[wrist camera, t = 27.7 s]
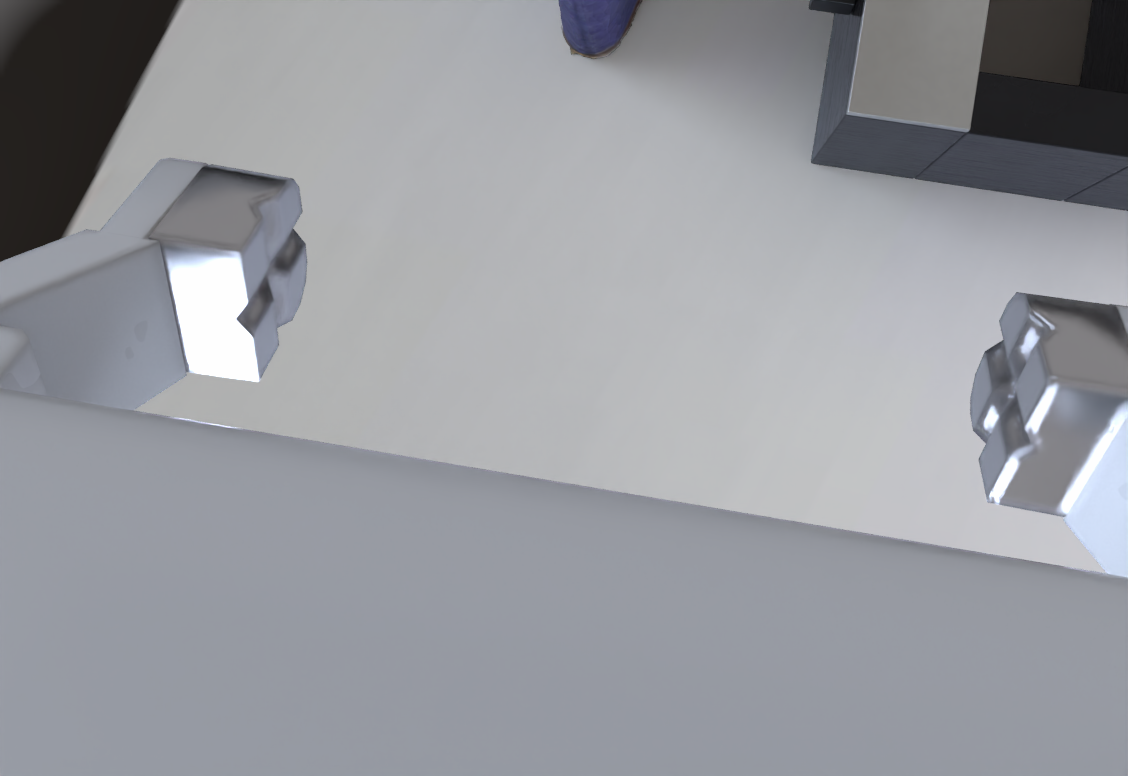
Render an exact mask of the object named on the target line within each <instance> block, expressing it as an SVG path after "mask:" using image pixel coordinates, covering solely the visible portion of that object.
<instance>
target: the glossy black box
mask: <svg viewBox="0 0 1128 776" xmlns="http://www.w3.org/2000/svg"><path fill="white" fill-rule="evenodd" d="M989 2H990V0H810V4H809V9H810V10H817V11H824V12H831V13H834V19H833V26H832V32H831V38H830V45H829V51H828V57H827V64H826V70H825V76H824V83H823V89H822V95H821V102H820V108H819V114H818V121H817V127H816V133H815V140H814V146H813V152H812V159H811V163H813V164H819V165H826V166H833V167H839V168H846V169H853V170H859V171H866V172H873V173H879V174H886V175H892V176H899V177H906V178H915V179H919V180H926V181H933V182H939V183H946V184H952V185H959V186H966V187H972V188H979V189H986V190H992V191H999V192H1006V193H1012V194H1019V195H1025V196H1032V197H1039V198H1045V199H1052V200H1059V201H1062V200H1064V201H1067V202H1073V203H1080V204H1087V205H1093V206H1100V207H1107V208H1113V209H1120V210H1127V211H1128V0H1093V1H1092V8H1091V14H1090V21H1089V28H1088V35H1087V41H1086V48H1085V55H1084V62H1083V68H1082V75H1081V82H1080V86H1074V85H1067V84H1060V83H1054V82H1047V81H1040V80H1033V79H1026V78H1019V77H1012V76H1005V75H998V74H991V73H985V72H979V68H980V62H981V55H982V48H983V42H984V35H985V29H986V22H987V16H988V9H989Z"/></svg>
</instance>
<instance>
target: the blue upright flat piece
mask: <svg viewBox="0 0 1128 776" xmlns="http://www.w3.org/2000/svg"><path fill="white" fill-rule="evenodd" d="M641 2H642V0H559V6H560V11H561V19H562V26H561V29H562V32H563V35H564V38H565V40H566V42H567V44H568V45H569V46H570V50H571V55H572V54H575V53H578V54H580V55H583V57H589V58H592V59H596V58H599V57H607V56H609V55H610V54H611V53H612V52H613V51H614V50H615V49H616V48H617V47H618V46H619V45H620V43H621V40H622V39H623V37H624V36H625V35H626V34H627V32H628V31H629V29H630V27H631V26H632V22H633V21H634V16H635V14H636V11H637V9H638V7H639V5H640V3H641Z"/></svg>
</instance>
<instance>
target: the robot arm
mask: <svg viewBox="0 0 1128 776" xmlns="http://www.w3.org/2000/svg"><path fill="white" fill-rule="evenodd" d="M301 214H302V204H301V196H300V189H299V186H298V185H297V183H296V182H295V180H294V179H292V178H287V177H281V176H275V175H270V174H264V173H258V172H253V171H247V170H241V169H236V168H230V167H224V166H219V165H213V164H211V165H208V164H206V163H202V162H195V161H189V160H182V159H175V158H166V159H161V160H159V161H158V162H157V163H156V165H155V166H154V167H153V168H152V169H151V171H150V172H149V173H148V174H147V175H146V177H145V178H144V179H143V180H142V181H141V182H140V184H139V185H138V186H137V187H136V188H135V190H134V191H133V192H132V193H131V194H130V196H129V197H128V198H127V199H126V200H125V202H124V203H123V204H122V205H121V206H120V207H119V209H118V210H117V211H116V212H115V213H114V215H113V216H112V217H111V218H110V219H109V221H108V222H107V223H106V224H105V225H104V227H103V228H102V229H101V230H100V231H94V230H88V229H86V230H84V231H81V232H78V233H76V234H73V235H70V236H68V237H65V238H63V239H60V240H58V241H55V242H52V243H49V244H47V245H44V246H41V247H39V248H36V249H33V250H31V251H28V252H26V253H23V254H20V255H18V256H15V257H12V258H9V259H7V260H4V261H2V262H0V776H1128V306H1120V305H1112V304H1109V305H1106V304H1099V303H1092V302H1084V301H1077V300H1070V299H1062V298H1055V297H1048V296H1040V295H1033V294H1026V293H1019V292H1016V294H1015V295H1014V296H1013V297H1012V299H1011V300H1010V301H1009V302H1008V304H1007V306H1006V308H1005V310H1004V312H1003V314H1002V316H1001V318H1000V320H999V322H1000V327H1001V331H1002V335H1003V341H1001V342H999V343H998V344H996V345H995V346H993V347H991V348H990V349H988V350H987V351H985V353H984V355H983V357H982V360H981V362H980V364H979V367H978V369H977V372H976V374H975V378H974V383H973V388H972V393H971V400H970V415H971V421H972V427H973V431H974V432H975V433H976V434H977V435H978V436H979V437H980V438H981V439H982V440H983V441H984V442H985V443H986V445H985V447H984V449H983V451H982V453H981V455H980V457H979V464H980V468H981V473H982V478H983V483H984V488H985V493H986V498H987V502H988V503H994V504H999V505H1004V506H1009V507H1015V508H1020V509H1025V510H1030V511H1036V512H1041V513H1046V514H1051V515H1057V516H1062V517H1065V518H1064V519H1063V520H1064V522H1065V523H1066V524H1067V525H1068V526H1069V528H1070V529H1071V530H1072V531H1073V532H1074V534H1075V535H1076V536H1077V537H1078V539H1079V540H1080V541H1081V542H1082V543H1083V545H1084V546H1085V547H1086V548H1087V549H1088V551H1089V552H1090V553H1091V554H1092V556H1093V557H1094V558H1095V559H1096V560H1097V562H1098V563H1099V564H1100V565H1101V566H1102V568H1103V569H1104V570H1105V571H1106V573H1107V574H1106V573H1100V572H1094V571H1088V570H1082V569H1076V568H1070V567H1064V566H1058V565H1052V564H1046V563H1040V562H1034V561H1028V560H1022V559H1017V558H1011V557H1005V556H999V555H993V554H987V553H981V552H975V551H969V550H963V549H957V548H951V547H945V546H939V545H933V544H927V543H921V542H915V541H909V540H903V539H897V538H891V537H885V536H879V535H873V534H867V533H861V532H855V531H849V530H843V529H837V528H831V527H825V526H819V525H813V524H807V523H801V522H795V521H789V520H783V519H777V518H771V517H765V516H759V515H754V514H748V513H742V512H736V511H730V510H724V509H718V508H712V507H706V506H700V505H694V504H688V503H682V502H676V501H670V500H664V499H658V498H652V497H646V496H640V495H634V494H628V493H622V492H616V491H610V490H604V489H598V488H592V487H586V486H581V485H575V484H569V483H563V482H557V481H551V480H545V479H539V478H533V477H527V476H521V475H515V474H509V473H503V472H497V471H491V470H485V469H479V468H473V467H467V466H461V465H455V464H449V463H443V462H437V461H431V460H426V459H420V458H414V457H408V456H402V455H396V454H390V453H384V452H378V451H372V450H366V449H360V448H354V447H348V446H342V445H336V444H330V443H324V442H318V441H312V440H306V439H300V438H294V437H288V436H282V435H276V434H270V433H265V432H259V431H253V430H247V429H241V428H235V427H229V426H223V425H217V424H211V423H205V422H199V421H193V420H187V419H181V418H175V417H169V416H163V415H157V414H151V413H145V412H139V411H133V410H135V409H136V408H138V407H139V406H141V405H142V404H144V403H145V402H147V401H148V400H150V399H152V398H153V397H155V396H156V395H158V394H159V393H161V392H162V391H164V390H165V389H167V388H168V387H170V386H171V385H173V384H174V383H176V382H178V381H179V380H181V379H182V378H184V377H185V376H186V375H187V374H186V372H191V373H198V374H205V375H213V376H220V377H227V378H234V379H242V380H249V381H256V382H259V381H260V379H261V377H262V375H263V373H264V372H265V370H266V368H267V366H268V364H269V362H270V361H271V359H272V357H273V355H274V353H275V351H276V350H277V348H278V346H279V340H278V331H277V328H278V327H280V326H282V325H284V324H286V323H288V322H290V321H292V320H293V318H294V316H295V314H296V312H297V310H298V308H299V306H300V303H301V299H302V295H303V291H304V287H305V283H306V272H307V255H306V244H305V243H304V241H303V240H302V239H301V238H300V236H299V235H298V234H297V233H296V231H295V230H294V229H293V227H294V226H295V224H296V222H297V220H298V219H299V217H300V215H301Z"/></svg>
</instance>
